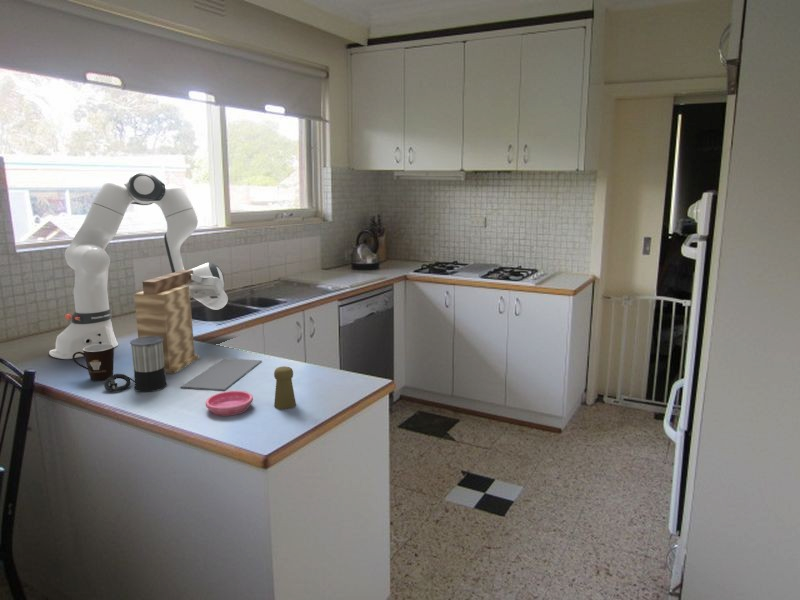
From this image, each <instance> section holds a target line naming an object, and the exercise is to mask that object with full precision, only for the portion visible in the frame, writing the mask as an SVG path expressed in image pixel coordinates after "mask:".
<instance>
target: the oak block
mask: <svg viewBox="0 0 800 600" xmlns="http://www.w3.org/2000/svg"><path fill="white" fill-rule="evenodd" d="M133 296H134V297H133V298H134V299H133V300H134V307H135V317H136V318H135V319H136V327H137V338H141V337H149V336H156V337H161V338H163V341H162V344H163V355H164V367H165V374H171V375H174V374H176V373H178V372H179V371H181V370H183V369H184V368H186V367H188V366H190V365H191V364H192V362H193V361H194V362H196V361H197V359H198V358H199V355H200V354H196V353H195V344H194V343H195V342H194V330H193V317H192V316H193V315H192V304H191V297H190V289H189V286H179V287H176V288H173V289H170V290H167V291H164V292H161V293H158V294H144V293H143V290H142V291H139V292H136V293H133ZM195 360H196V361H195ZM198 360H199V359H198ZM194 362H193V363H194ZM190 363H191V364H190ZM187 365H188V366H187ZM185 366H186V367H185ZM182 368H183V369H182Z"/></svg>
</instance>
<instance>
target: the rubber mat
mask: <svg viewBox="0 0 800 600" xmlns="http://www.w3.org/2000/svg"><path fill="white" fill-rule="evenodd" d="M261 363H262V360H260V359H244V358H241V359H239V358H222V359H220V360H219V361H217V362H216V363H214V364H213V365H211V366H210V367H208V368H207V369H205V370H204V371H202V372H201V373H200V374H198V375H196V376H195V377H193V378H191V379H190V380H188V381H187V382H186V383H183V384H182V385H181V386H180V389H188V390H189V389H190V390H191V389H192V390H204V391H205V390H206V391H217V392H218V391H221V392H222V391H223V392H226V391H227V390H228V389H229V388H231V387H232V386H233V385H234V384H235V383H237V382H238V381H239V380H241V377H242V376H243V375H244V376H246V375H247V374H248V373H249V372H251V371H252V370H253V369H255V368H256V367H257V366H258V365H260V364H261ZM255 366H256V367H255ZM251 369H252V370H251ZM250 370H251V371H250ZM247 372H248V373H247ZM246 373H247V374H246ZM244 376H243V377H244ZM238 379H239V380H238ZM237 380H238V381H237ZM232 384H233V385H232Z"/></svg>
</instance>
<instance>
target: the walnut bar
mask: <svg viewBox="0 0 800 600" xmlns="http://www.w3.org/2000/svg"><path fill="white" fill-rule="evenodd" d="M189 274H193V270H190V269H185V270H181V271H177V272H174V273H172V272H170V273H166V274H163V275H161V276H158V277H157V276H156V277H154V278H150V279H146V280H144V281H142V291H143V293H144V294H158V293H161V292H164V291H167V290H170V289H173V288H176V287H179V286H181V285H184V284H187V283H190V282H193V281H194V280H190V279H189Z"/></svg>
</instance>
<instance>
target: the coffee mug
mask: <svg viewBox="0 0 800 600" xmlns="http://www.w3.org/2000/svg"><path fill="white" fill-rule="evenodd" d="M114 351H115V347H114V345H112V344H96V345H91V346H87V347H85V348H84V349H83V352H84V353H83V352H76V353H74V354H73V358H72V360H73V362H74V363H75V364H76V365H78V366H79V367H81V368H83V369H84V370H87V372H88V374H89V378H90V381H91V382H103V381H104V382H105V381H106V380H107V379H108V378H109V377H110V376H112V375H114V364H115V363H114V362H115V361H114V360H115V358H114V357H115V356H114V354H115V352H114ZM76 354H82V355H83V356H82V357H84V359H85V362H86V366H85V365H83V364H81V363H79V362H78V361H77V360H76V358H75V355H76Z"/></svg>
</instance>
